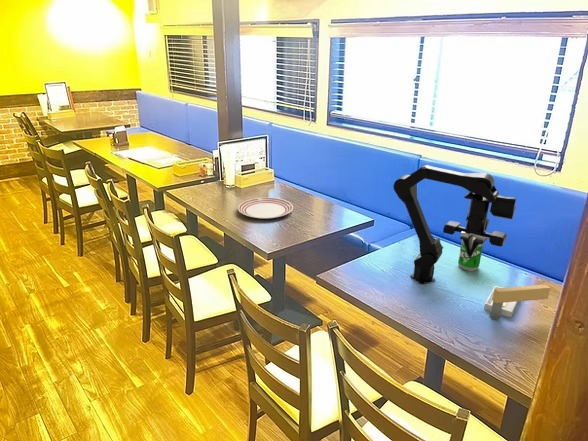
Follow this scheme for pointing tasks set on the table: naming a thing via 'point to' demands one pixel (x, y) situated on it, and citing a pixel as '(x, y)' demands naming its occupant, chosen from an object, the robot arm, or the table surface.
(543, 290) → the bar
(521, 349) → the table surface
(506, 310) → the white flat block
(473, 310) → the table surface
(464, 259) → the soda can
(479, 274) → the table surface
